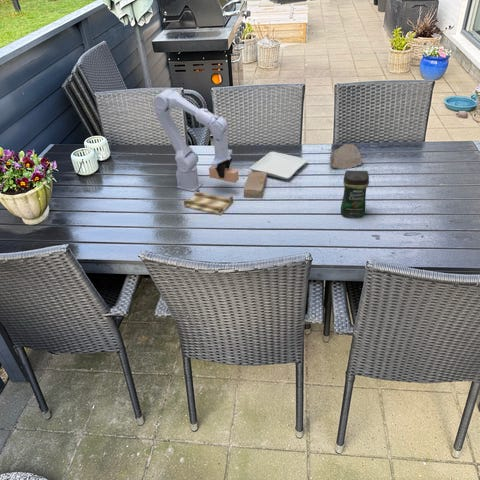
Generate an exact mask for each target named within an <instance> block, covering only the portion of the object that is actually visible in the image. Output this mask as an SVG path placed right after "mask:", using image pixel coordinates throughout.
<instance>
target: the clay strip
mask: <svg viewBox="0 0 480 480" xmlns="http://www.w3.org/2000/svg"><path fill="white" fill-rule="evenodd" d="M208 174H209V178H211V179H215V180H220V181H224V182H231V183H234V184H235V183H237V182H238V181H239V180H240V178H239V170H238V169H232V168H230V167H229V168H225V171H224V178H219V175H218V173H217V170H216V169H215V168H213V167H212V165H211V166H210V167H209V168H208Z"/></svg>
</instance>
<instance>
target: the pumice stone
mask: <svg viewBox="0 0 480 480" xmlns="http://www.w3.org/2000/svg"><path fill="white" fill-rule="evenodd" d="M363 160H364V159H363V158H362V155H361V152H360V151H359V149H358V147H357V145H355V144H354V143H345V144H343V145H340V147H339V148H337V149H334V151H333V153H332V155H331V158H330V165H329V166H330V168H333V169H339V170H346V168H349V169H353V168H356V167H357V166H361V165H362V163H363ZM352 167H353V168H352Z"/></svg>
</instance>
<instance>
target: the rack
mask: <svg viewBox="0 0 480 480" xmlns="http://www.w3.org/2000/svg"><path fill="white" fill-rule="evenodd" d="M193 192H194V196H192V197H191V199H189V198H186V199H184V200H183V206H184V208H187V209H192V210H196V211H200V212H205V213H209V214H212V215H216V216H222V215H223V214H225V212H226V211H227V210H228V209H229V208H230V207H231V205H233V203H234V196H232V195H230V196H229V198H227V197H224V196H223V197H222V196H217V195H213V194H208V193H204V192H200V189H199V188H198V189H196V190H195V191H193Z"/></svg>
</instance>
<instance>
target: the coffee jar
mask: <svg viewBox="0 0 480 480" xmlns="http://www.w3.org/2000/svg"><path fill="white" fill-rule="evenodd" d="M369 176H370V175H369V171H368V170H346V171H345V172H344V175H343V186H344V189H343V196H342V201H341V206H340V214H341V215H342V217H345V218H362V217H364V216H365V215H366V205H367V204H366V197H367V195H366V194H367V188H368V187H369V184H370V177H369Z"/></svg>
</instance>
